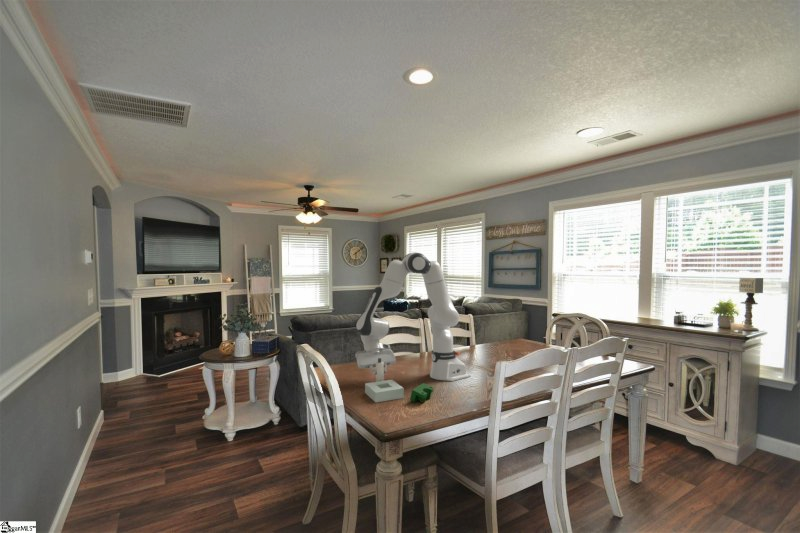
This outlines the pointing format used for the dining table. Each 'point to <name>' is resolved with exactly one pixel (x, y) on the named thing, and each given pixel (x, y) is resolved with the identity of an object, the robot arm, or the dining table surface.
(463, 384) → the dining table surface
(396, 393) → the housing
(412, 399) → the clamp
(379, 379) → the white bottle
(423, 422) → the dining table surface
